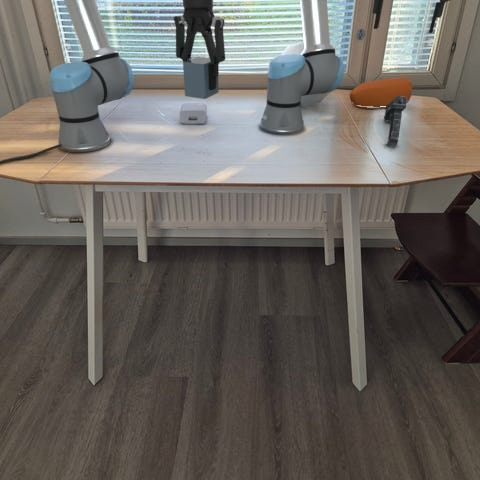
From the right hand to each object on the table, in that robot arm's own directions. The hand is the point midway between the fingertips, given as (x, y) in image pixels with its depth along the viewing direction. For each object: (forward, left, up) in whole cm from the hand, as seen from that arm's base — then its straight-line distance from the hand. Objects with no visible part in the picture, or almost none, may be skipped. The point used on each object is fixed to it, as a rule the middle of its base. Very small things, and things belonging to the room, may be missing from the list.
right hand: (402, 30), depth 105 cm
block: (+38, -36, -17) cm, 55 cm away
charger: (+19, -65, -34) cm, 76 cm away
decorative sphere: (-24, -48, -34) cm, 64 cm away
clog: (-46, -27, -34) cm, 64 cm away
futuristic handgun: (-21, -7, -34) cm, 41 cm away
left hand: (+38, -36, -15) cm, 55 cm away
